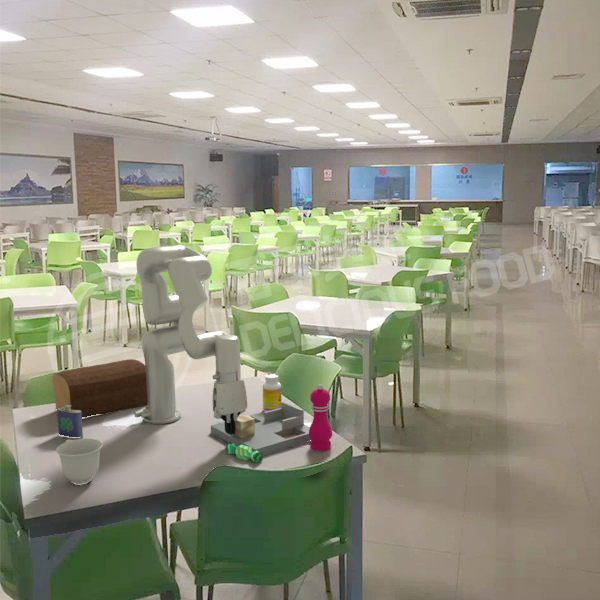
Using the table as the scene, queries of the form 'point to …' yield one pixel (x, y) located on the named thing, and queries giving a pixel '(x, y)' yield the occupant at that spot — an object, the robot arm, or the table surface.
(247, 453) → the candy
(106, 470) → the table surface
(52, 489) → the table surface
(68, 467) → the teacup
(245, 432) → the block
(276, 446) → the plate
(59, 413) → the flask
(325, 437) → the pepper mill
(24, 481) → the table surface
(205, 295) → the robot arm
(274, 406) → the supplement bottle
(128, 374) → the bread
